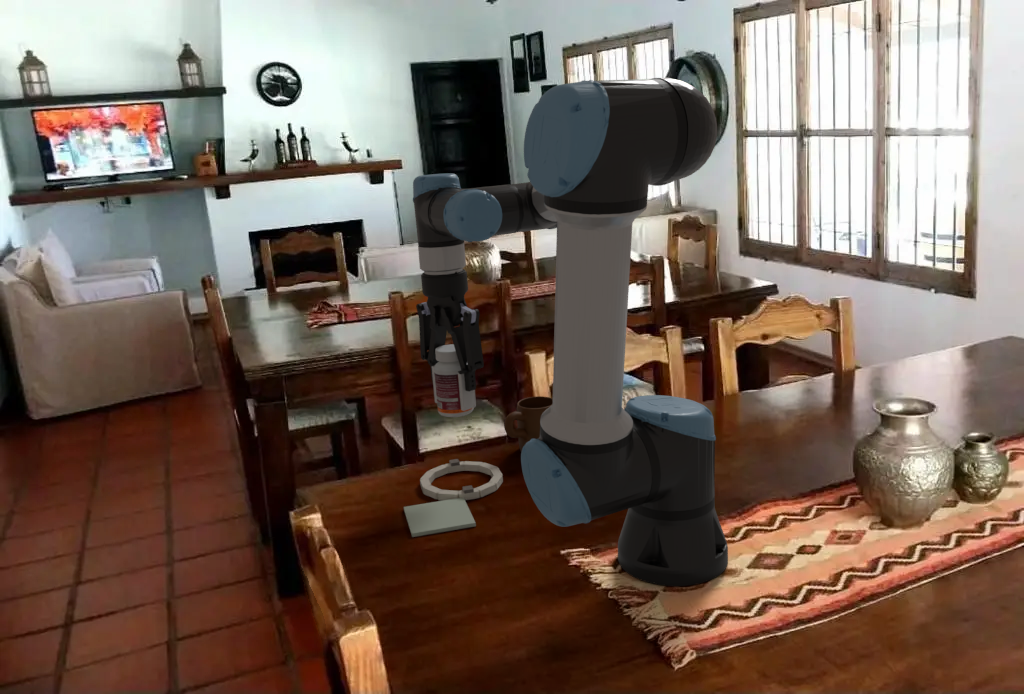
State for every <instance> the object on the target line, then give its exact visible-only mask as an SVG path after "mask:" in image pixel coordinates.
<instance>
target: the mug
mask: <svg viewBox="0 0 1024 694" xmlns="http://www.w3.org/2000/svg"><path fill="white" fill-rule="evenodd" d="M551 405H553V397H548V396H528V397H525V398H522V399H520V400H519V401H517V402H516V410H515V411H512V412H509V414H508V415H506V417H505V418H504V423H503V426H504V427H503V428H504V431H505V433H506V434H507V436H509V437H510V438H511V439H518V445H519V446H518V448H519V451H520V452H522V448H523V446H525V444H526V443H527V442H528V441H530V440H531V439H538V438H539V437H540V418H541V415H542V413H543V412H544V411H545V410H546V409H548V408H549V407H550V406H551ZM515 421H516V425H517V428H514V422H515Z"/></svg>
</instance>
